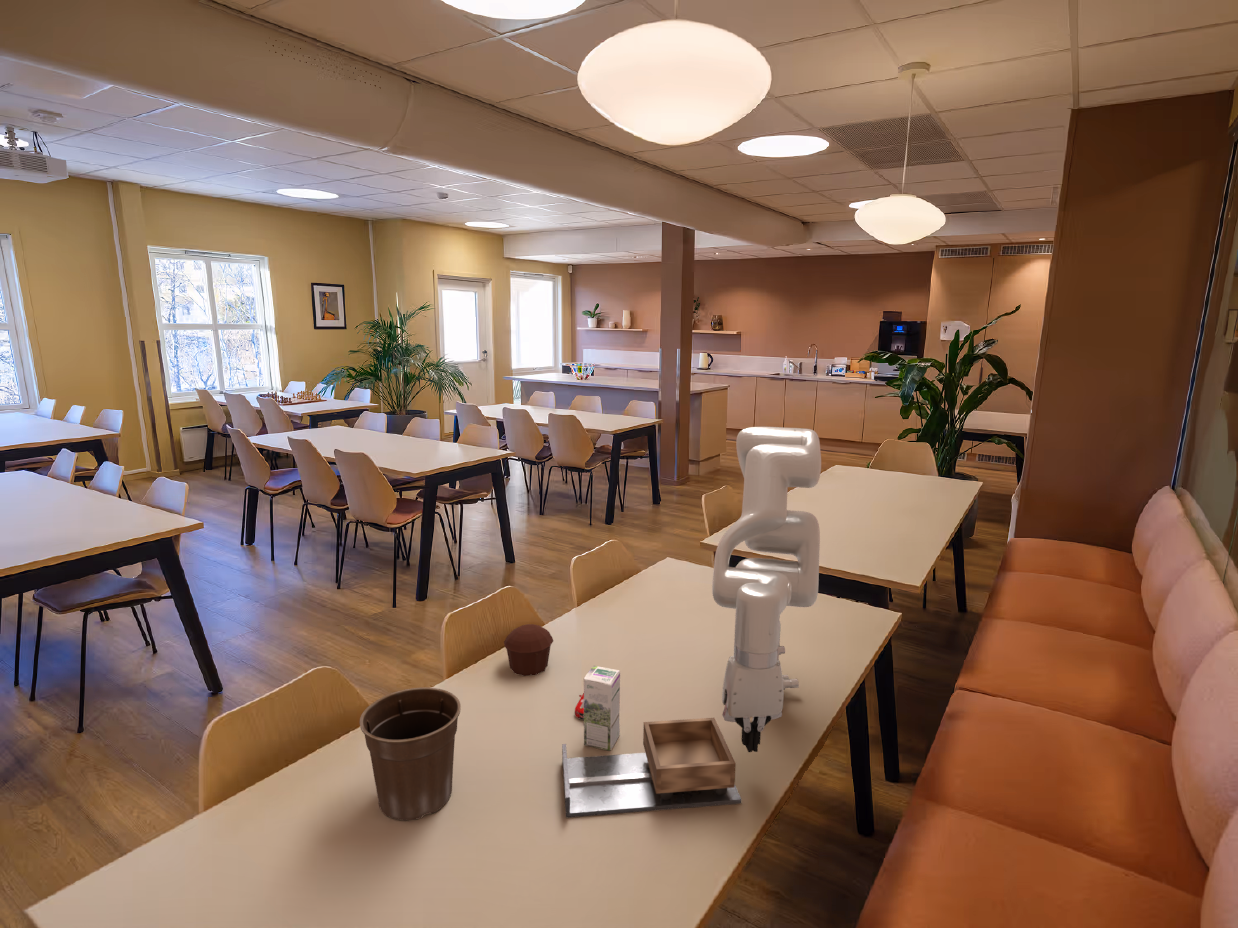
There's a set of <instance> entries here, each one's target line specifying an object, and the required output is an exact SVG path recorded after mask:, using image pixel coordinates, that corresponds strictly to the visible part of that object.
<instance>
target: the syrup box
mask: <svg viewBox="0 0 1238 928" xmlns="http://www.w3.org/2000/svg"><path fill="white" fill-rule="evenodd" d="M583 693H584V720H583V745H584V746H587V747H591V748H594V749H595V748H596V749H600V750H604V751H609V752H610V751H611V750H612V749H613V748H614V745H615V744H616V742H617V740H618V739H619V737H620V734H621V733H620V731H621V730H620V729H621V728H620V726H621V725H620V720H621V719H620V711H621V709H620V702H621V701H620V700H621V699H620V698H621V671H620V670H619V669H613V668H609V667H602V666H597V665H593V666H592V667H591V668H590V669H589V671H588V672H587V673H586V674H585V676H584V678H583Z"/></svg>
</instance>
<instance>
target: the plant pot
mask: <svg viewBox="0 0 1238 928" xmlns="http://www.w3.org/2000/svg"><path fill="white" fill-rule="evenodd" d="M461 708H462V706H461V701H460V699H459V698H458V696H456V695H455V694H453V693H452V692H450V691H449V690H445V689H441V688H437V687H414V688H413V687H412V688H407V689H403V690H398V691H395V692H392V693H389V694H387V695H385V696H382V697H380V698H378V699H377V700H375V701H374V702H372V703H371V704H370V705H369V706H367V707H366V708H365V710H364V711H363V712H362V714H361V715H360V717H359V726H360V727H359V728H360V730H361V732H362V734H364V739H365V744H366V748H367V749H368V751H369V754H370V760H371V765H372V771H373V777H374V784H375V791H376V795H377V802H378V803H377V804H378V806H379V808H380V810H381V813H382V814H384V815H385V816H386V817H388V818H390V819H393V820H397V821H398V820H399V821H412V820H420V819H421V818H423V817H424V816H425V815H428V814H435V813H436V812H438V811H439V810H440V809H442V808H443V807H444V806H445V805H446V804H447V803H448V801H449V800H450V797H451V795H452V793H453V792H452V791H453V774H454V773H453V772H454V761H455V760H454V758H455V743H456V742H455V740H456V734H457V731H458V718H459V716H460V713H461V710H462V709H461Z"/></svg>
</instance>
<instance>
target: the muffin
mask: <svg viewBox="0 0 1238 928" xmlns="http://www.w3.org/2000/svg"><path fill="white" fill-rule="evenodd" d="M553 643H554V638H553V636H552V635H551V633H550V631H549V630H548V629H546V628H545V627H542V626H541V625H538V624H533V623H531V624H530V623H529V624H523V625H521V626H517V627H516V628H514V629H513V630H511V632H509V634H508V635H507V636H506V637H505V640H504V641H503V644H504V648H505V649H506V653H507V658H508V665H509V668H510V669H511V671H512V673H513V674H514V675H519V676H522V677H528V676H537V675H539V674H541V673H543V672H545V671H546V668H547V667H548V665H549V660H550V659H549V658H550V651H551V646H552V644H553Z"/></svg>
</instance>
